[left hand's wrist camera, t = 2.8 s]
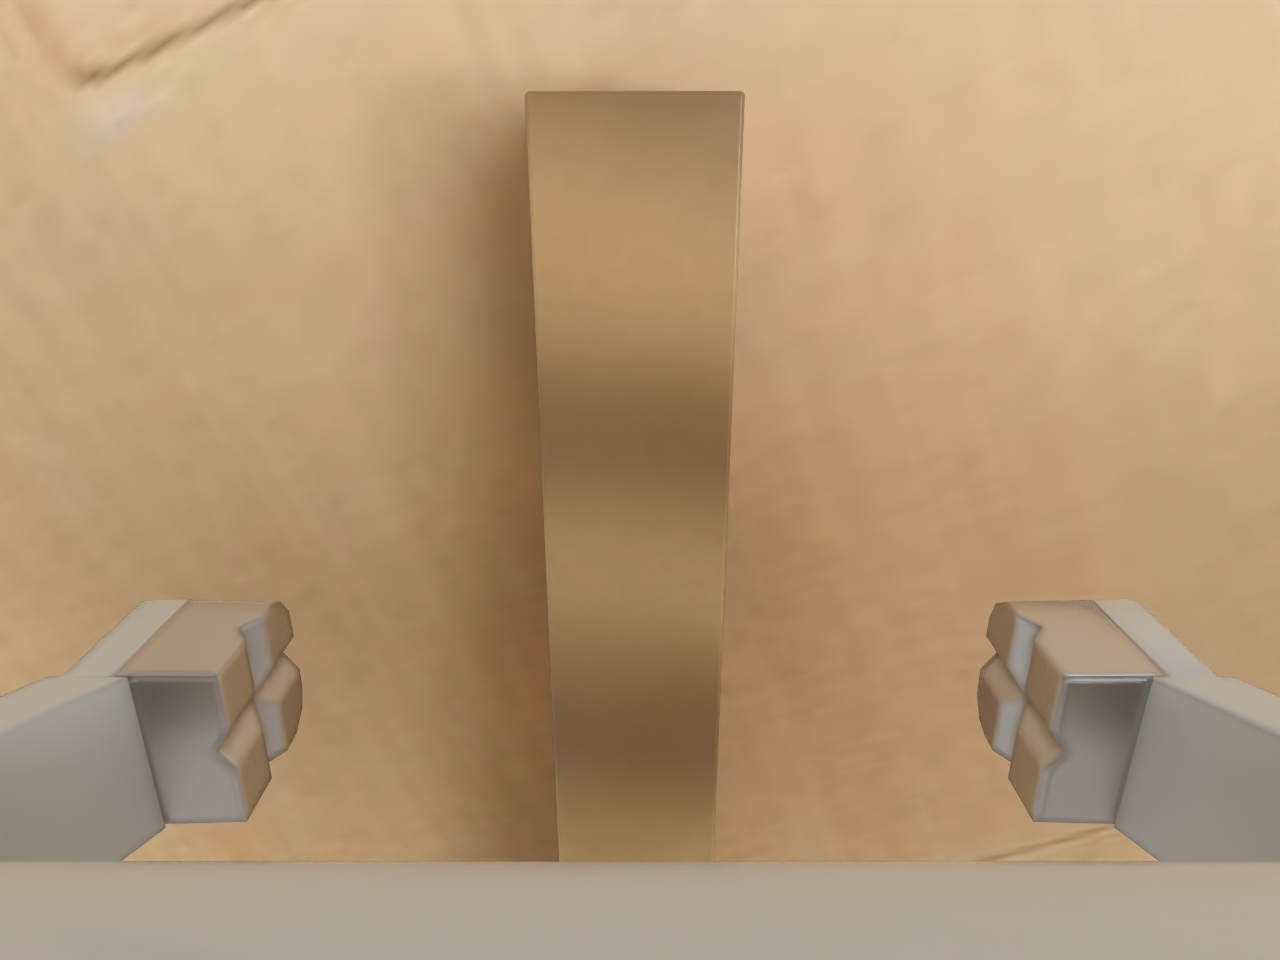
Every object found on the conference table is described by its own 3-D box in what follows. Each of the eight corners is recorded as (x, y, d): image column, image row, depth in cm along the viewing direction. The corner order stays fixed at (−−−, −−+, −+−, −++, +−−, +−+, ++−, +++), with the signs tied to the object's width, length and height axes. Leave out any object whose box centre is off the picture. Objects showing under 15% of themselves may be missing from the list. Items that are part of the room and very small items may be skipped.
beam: (551, 98, 24) (523, 90, 18) (719, 98, 24) (745, 90, 18) (590, 1238, 43) (583, 1411, 37) (684, 1238, 43) (691, 1411, 37)
